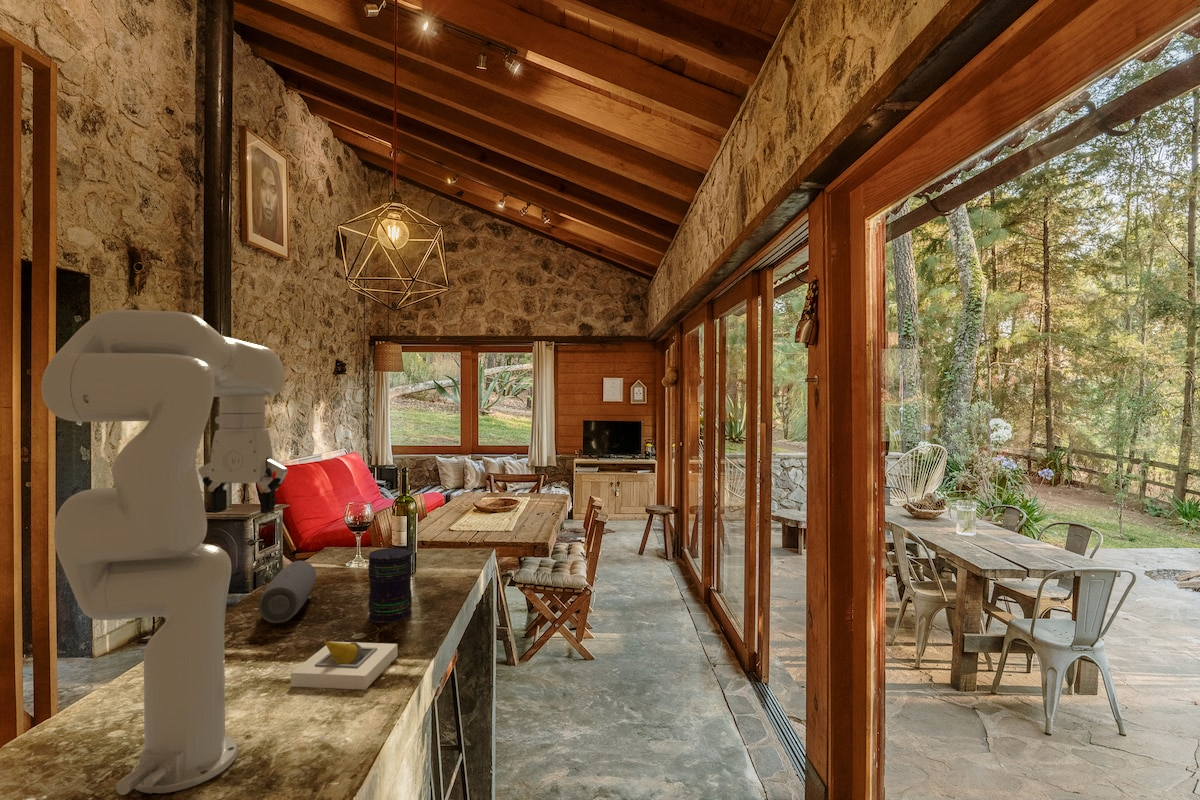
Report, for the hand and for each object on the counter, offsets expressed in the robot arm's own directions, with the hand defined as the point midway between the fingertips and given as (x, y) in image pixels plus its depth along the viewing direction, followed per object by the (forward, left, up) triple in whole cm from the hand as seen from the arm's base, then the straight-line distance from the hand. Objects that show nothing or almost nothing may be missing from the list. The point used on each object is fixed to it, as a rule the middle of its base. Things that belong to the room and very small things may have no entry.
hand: (243, 511), depth 118 cm
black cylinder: (+30, -16, -31) cm, 46 cm away
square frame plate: (+1, -20, -30) cm, 36 cm away
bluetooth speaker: (+30, +10, -31) cm, 44 cm away
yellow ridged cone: (+1, -20, -31) cm, 36 cm away
